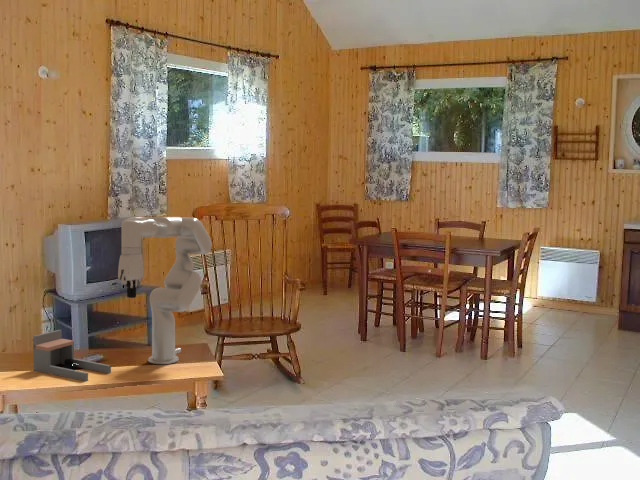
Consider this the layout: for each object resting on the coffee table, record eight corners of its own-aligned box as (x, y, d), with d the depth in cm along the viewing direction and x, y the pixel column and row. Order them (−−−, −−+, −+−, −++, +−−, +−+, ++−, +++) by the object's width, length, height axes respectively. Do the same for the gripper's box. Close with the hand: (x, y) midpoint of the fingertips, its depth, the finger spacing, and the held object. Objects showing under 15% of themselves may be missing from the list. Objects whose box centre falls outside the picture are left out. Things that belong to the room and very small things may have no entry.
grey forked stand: (59, 362, 311) (59, 329, 309) (110, 372, 298) (110, 338, 296) (33, 370, 299) (33, 336, 297) (85, 381, 286) (85, 345, 284)
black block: (75, 375, 295) (75, 364, 295) (56, 376, 294) (56, 364, 293) (79, 366, 307) (79, 355, 307) (61, 367, 306) (61, 356, 305)
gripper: (137, 248, 300) (137, 293, 302) (110, 252, 287) (110, 299, 289) (151, 250, 296) (151, 295, 298) (125, 253, 283) (125, 301, 285)
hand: (131, 297), depth 294 cm, fingers closed
